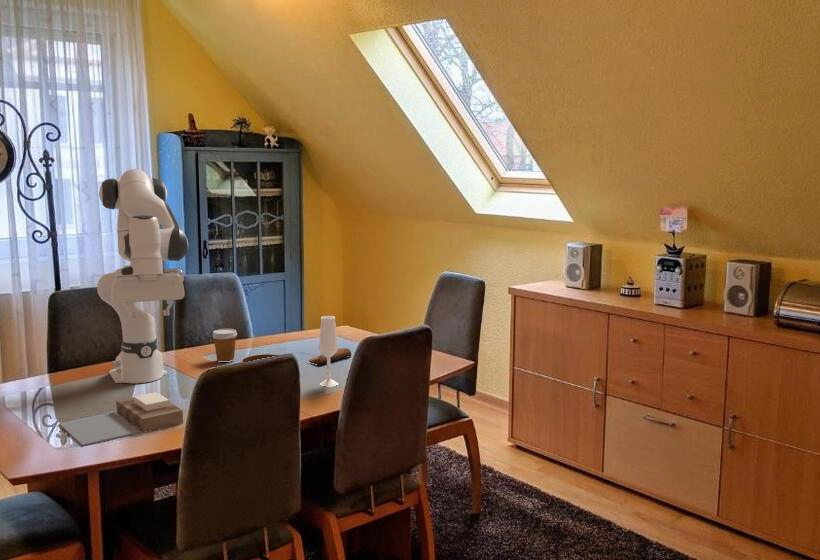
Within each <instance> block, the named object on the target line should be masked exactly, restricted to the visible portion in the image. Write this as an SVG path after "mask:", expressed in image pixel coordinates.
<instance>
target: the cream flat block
mask: <svg viewBox="0 0 820 560" xmlns="http://www.w3.org/2000/svg"><path fill="white" fill-rule="evenodd" d="M133 397H134V403H135V404H137V405H138V406H140V407H141V408H143V409H144V410H146V411H150V410H155V409H159V408H164V407H169V406H170V405H169V402H170V399H168V398H167V397H165V396H163V395H162V394H160V393H158V392H156V391H155V392H151V393H145V394H140V395H134V396H133Z"/></svg>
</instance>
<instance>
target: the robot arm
mask: <svg viewBox="0 0 820 560" xmlns="http://www.w3.org/2000/svg"><path fill="white" fill-rule="evenodd" d="M165 184H166V183H165V182H164V181H163V180H161V179H159V178H150V177H149V175H148V174H147V173H146V172H145V171H143V170H142V169H138V168H132V169H128V170H126V171H124V172H123V173H122V175H121V176H120V178H113V177H112V178H108V179H105V180H103V181H102V182H101V185H100V187H99V191H98V197H99V200H100V202H101V204H102V206H103V207H105V209H109V210H118V213H117V214H118V215H117V221H116V223H117V224H116V227H117V228H116V232H117V252H118V254H119V256H120V257H121V258H122V259H124V260H126V261H129V263H130V264H129V265H125V266H123V267H119V268H117V269H116V270H115V271H114V272H109V273H106V274H102V275H101V276H100V278H98V279H99V280H97V284H96V290H97V294H98V296H99V297H100V299H101V300H102V301H103V302H105V303H106V304H108V305H109V306H110V307H112V308H113V310H114V311H115V312H116V313H117V315H118V317H119V320H120V324H121V331H122V341H121V343H120V344H121V345H120V346H121V347H120V348H121V351H120V352H119V354H118V355H117V356H116V357H115V360H113V361H112V368H113V369H111V370H109V375H110V376H111V378H112V380H113V383H115V384H125V383H126V384H141V383H143V384H144V383H150V382H155V381H157V380H159V379H160V380H161V378H162V377H163V376H165V375H167V374H168V371H167V370H166V369H164V365H163V356H162V352H161V351H159V349H158V338H156V335H157V334H156V320H155V318H154V316H153V315H152V314H151V313H149V312H147V311H145V310H142V309H140V308H139V307H137V306H136V303H143V302H144V303H145V302H158V301H166V304H167V306H166V309H163V312H162V313H163V316H164V317H167V316H169V317H170V314H171V313H170V310H171V307H172V306H173V304H174V301H175V300H182V299H184V297H185V295H186V294H185V287H184V286H185V285H184V283H183V282H184V280H185V275H184V272H183V270H181V269H179V268H163V267H164V266H163V261H171V262H179V261H182V259H183V258H185V257H186V255H187V254H188V252H189V250H188V249H189V240H188V238H187V235H186V233H185V231H184V230H183V229H182V227H181V226H180V224H179V222H178V220H177V217H176V216H175V214H174V212H173V210H172V208H171V206H170V205H169V204H168V203H167V199H168V190H167V187H166V185H165ZM160 225H161V226H162V228H160Z"/></svg>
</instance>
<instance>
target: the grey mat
mask: <svg viewBox="0 0 820 560" xmlns="http://www.w3.org/2000/svg"><path fill="white" fill-rule="evenodd" d="M58 425H59V426H60V428H62V429H63V430H64V431H65V432H66V433H67V434H68V435H69V436H70V437H72V439H74V441H75V442H77V443H78V444H79V445H80V446H81V447H86V446H89V445H93V444H98V443H103V442H106V441H107V442H108V441H111V440H116V439H120V438H124V437H128V436H133V435H138V434H140V433H141V430H140V429H138V428H137V427H136V426H134V425H133V424H132V423H130V422H129V421H127V420H126V419H125V418H123V417H122V416H121V415H119V414H118V413H117V412H115V411H111V412H107V413H102V414H97V415H93V416H92V415H91V416H88V417H87V416H86V417H82V418H78V419H73V420H69V421H63V422H59V423H58Z"/></svg>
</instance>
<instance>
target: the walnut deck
mask: <svg viewBox="0 0 820 560" xmlns="http://www.w3.org/2000/svg"><path fill="white" fill-rule="evenodd" d="M134 397H135V396H133V397H127V398H122V399H116V400H115V403H116V404H115V406H116V407H115V408H116V414H117V415H118V416H120V417H121V418H123V417H124V418H123V419H124V420H125V421H127V420H128V421H127V422H128V423H130V422H131V423H130V424H131V425H132V426H133V427H135V428H136V429H138V428H139V429H138V430H139V431H140V432H141V431H142V432H143V433H145V432H146V431H147V432H150V430H151V431H155V430H159V429H158V428H160V429H164V428H167V427H166V426H168V427H171V425H173V426H176V425H175V424H177V425H180V424H179V423H181V424H184V416H183V413H184V412H183V409H181V408H179V407H178V406H176V405H174V404H173V403H171V402H170V401H169V405H170V406H169V407H164V408H159V409H155V410H150V411H146V410H144V409H143V408H141V407H140V406H138V405H137V404H135V403H134ZM163 427H164V428H163ZM154 429H155V430H154ZM147 432H146V433H147Z"/></svg>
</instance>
